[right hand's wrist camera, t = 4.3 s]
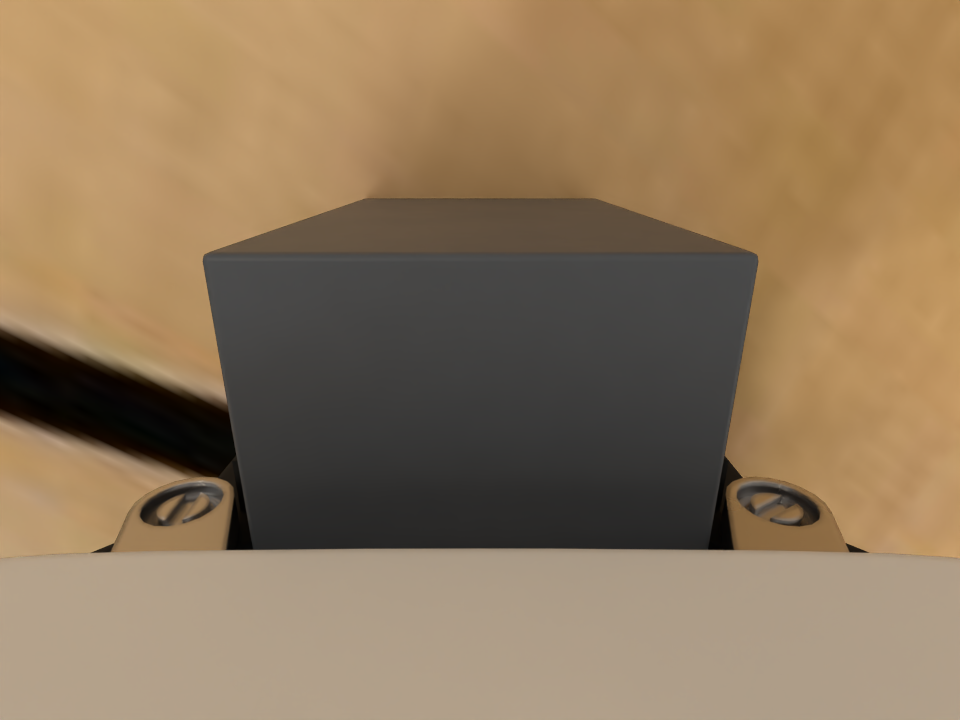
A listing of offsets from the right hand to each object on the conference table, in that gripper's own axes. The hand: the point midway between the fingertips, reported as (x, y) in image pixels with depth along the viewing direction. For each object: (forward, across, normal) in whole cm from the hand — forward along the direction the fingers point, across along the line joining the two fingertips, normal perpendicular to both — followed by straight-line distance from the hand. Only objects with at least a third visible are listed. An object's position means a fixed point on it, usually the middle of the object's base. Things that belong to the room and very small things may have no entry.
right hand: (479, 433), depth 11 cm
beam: (+3, 0, +30) cm, 30 cm away
